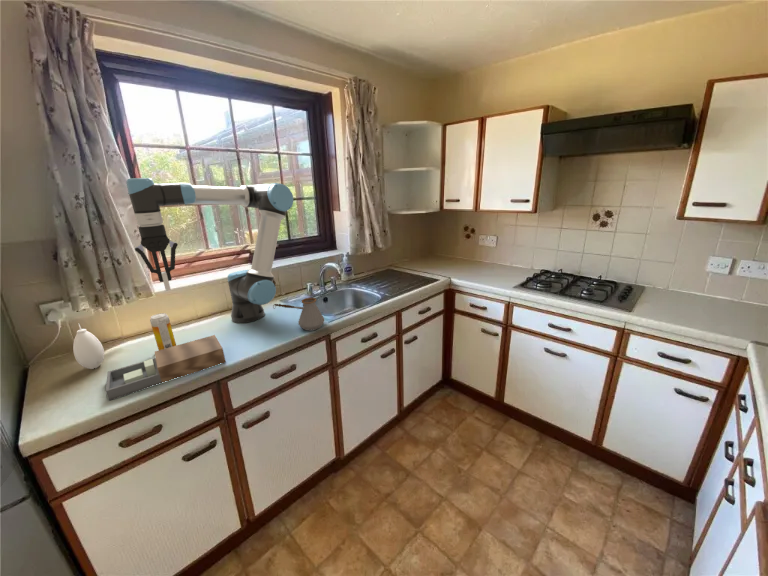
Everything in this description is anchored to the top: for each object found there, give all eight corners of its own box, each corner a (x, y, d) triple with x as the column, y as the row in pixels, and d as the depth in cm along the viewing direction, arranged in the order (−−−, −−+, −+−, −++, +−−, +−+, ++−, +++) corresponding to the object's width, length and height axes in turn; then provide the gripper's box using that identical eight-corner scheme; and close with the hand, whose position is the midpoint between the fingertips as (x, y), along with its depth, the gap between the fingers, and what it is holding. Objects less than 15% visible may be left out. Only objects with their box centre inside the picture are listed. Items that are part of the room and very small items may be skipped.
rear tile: (152, 358, 115) (143, 361, 113) (153, 364, 111) (144, 367, 110) (156, 371, 116) (147, 373, 115) (157, 377, 113) (148, 379, 111)
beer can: (173, 345, 136) (164, 311, 131) (179, 349, 132) (170, 315, 128) (157, 351, 132) (146, 316, 127) (162, 355, 128) (152, 320, 123)
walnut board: (217, 348, 132) (214, 334, 130) (225, 362, 121) (222, 348, 119) (158, 366, 121) (154, 351, 119) (162, 383, 110) (157, 367, 108)
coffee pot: (318, 319, 155) (314, 289, 151) (329, 327, 146) (326, 295, 142) (273, 332, 144) (268, 300, 139) (282, 342, 135) (277, 308, 130)
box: (158, 366, 121) (156, 357, 120) (162, 383, 110) (159, 374, 109) (110, 380, 113) (107, 371, 112) (109, 400, 102) (105, 391, 101)
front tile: (123, 374, 111) (125, 380, 111) (124, 380, 107) (126, 387, 108) (141, 368, 114) (143, 374, 114) (142, 374, 110) (144, 380, 111)
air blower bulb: (76, 375, 117) (58, 329, 111) (88, 364, 124) (71, 320, 118) (102, 371, 119) (85, 325, 113) (112, 360, 126) (97, 317, 120)
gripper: (127, 228, 107) (147, 296, 115) (174, 223, 114) (189, 287, 122) (127, 226, 113) (146, 291, 120) (171, 222, 120) (186, 283, 128)
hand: (168, 289), depth 121 cm, fingers closed
